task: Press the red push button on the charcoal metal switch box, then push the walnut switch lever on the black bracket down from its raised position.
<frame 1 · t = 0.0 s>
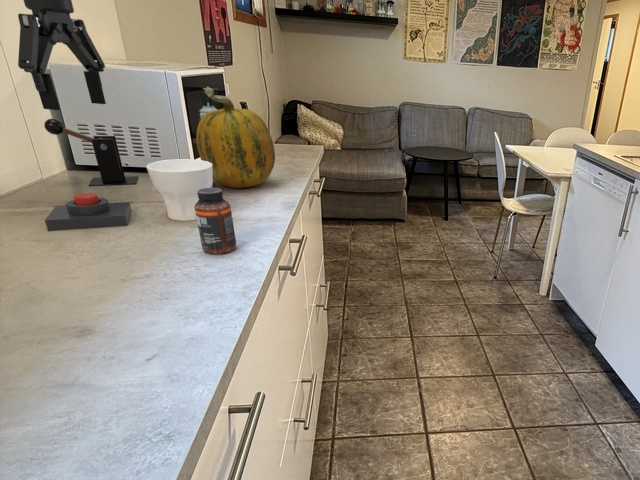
hand: (76, 106, 100), 20 cm above the counter, tool pointing down, fingers open, 13 cm apart
cup: (189, 216, 105), on the counter
switch box: (92, 220, 98), on the counter
lever bracket: (115, 185, 122), on the counter
spray can: (219, 174, 139), on the counter
supplement bottle: (220, 250, 89), on the counter
push button: (86, 199, 96), point 4 cm above the counter, slide at 0.1 cm
pumpkin: (242, 185, 130), on the counter
switch lever: (79, 135, 114), point 12 cm above the counter, hinge at 25.0°
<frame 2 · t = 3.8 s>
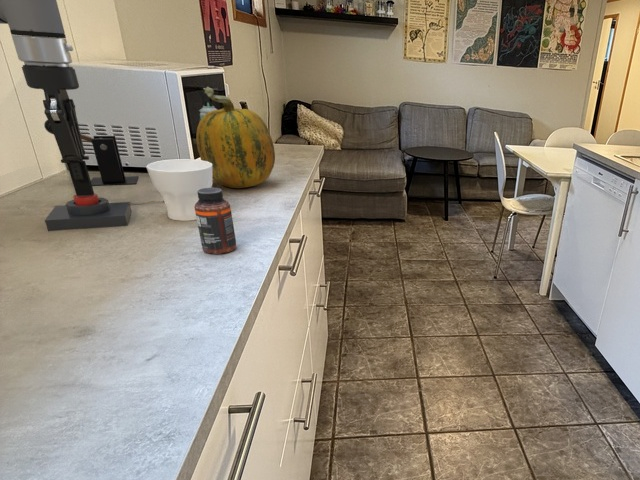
hand: (85, 194, 95), 6 cm above the counter, tool pointing down, fingers closed
push button: (86, 199, 96), point 4 cm above the counter, slide at 0.1 cm, touching gripper
everything else where it was.
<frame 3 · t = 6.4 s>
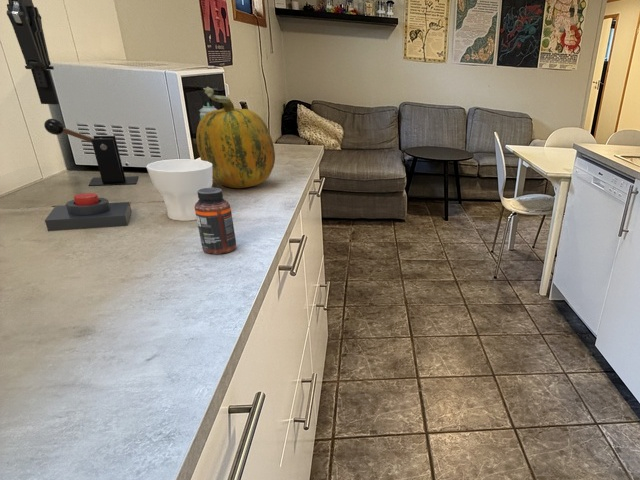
hand: (50, 103, 100), 21 cm above the counter, tool pointing down, fingers closed
push button: (86, 199, 96), point 4 cm above the counter, slide at 0.1 cm
everything else where it was.
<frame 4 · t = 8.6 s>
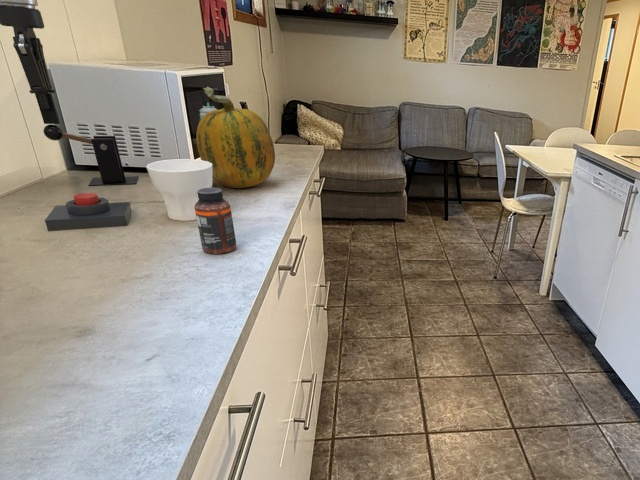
hand: (52, 123, 111), 15 cm above the counter, tool pointing down, fingers closed
switch lever: (78, 138, 114), point 12 cm above the counter, hinge at 16.9°
everything else where it was.
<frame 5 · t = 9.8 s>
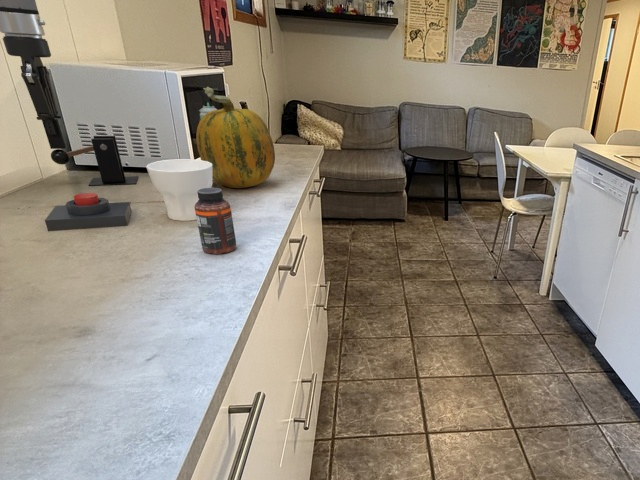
hand: (58, 148, 113), 9 cm above the counter, tool pointing down, fingers closed
switch lever: (82, 151, 115), point 9 cm above the counter, hinge at -15.8°
everything else where it was.
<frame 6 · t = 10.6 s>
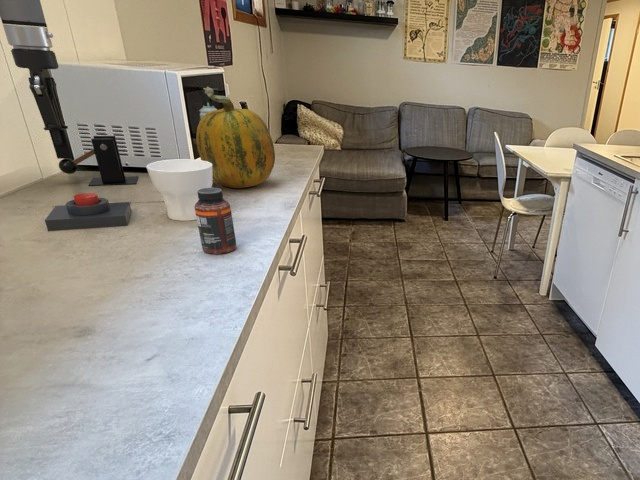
hand: (65, 157, 115), 7 cm above the counter, tool pointing down, fingers closed
switch lever: (86, 156, 116), point 7 cm above the counter, hinge at -30.0°, touching gripper
everything else where it was.
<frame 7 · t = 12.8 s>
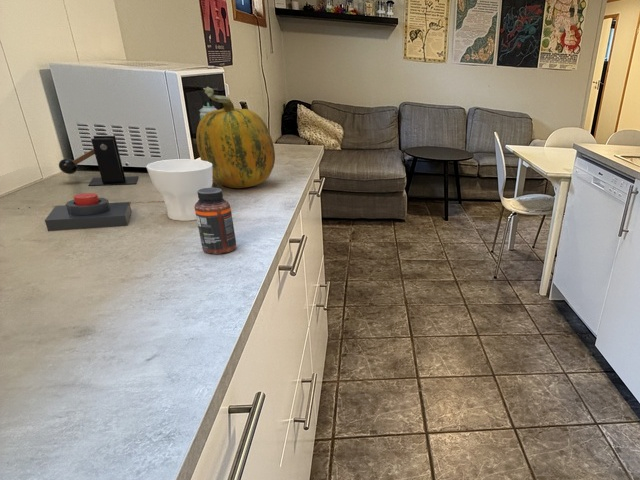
switch lever: (86, 156, 116), point 7 cm above the counter, hinge at -30.1°
everything else where it was.
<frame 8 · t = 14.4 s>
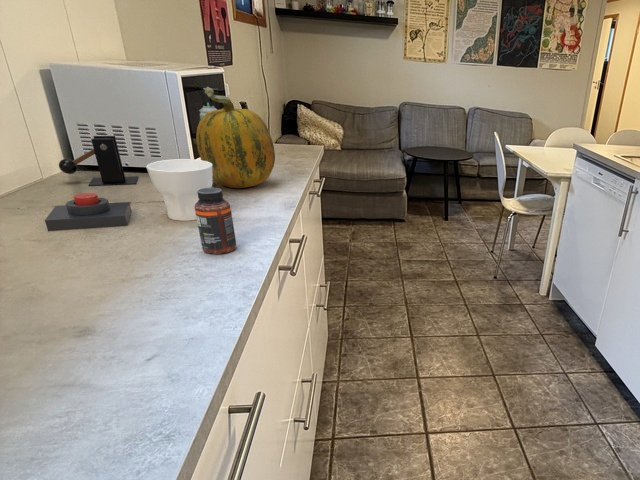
nothing on the counter moved.
at the end: push button pushed in 1.0 cm at the most during the clip, back to where it started at the end; push button slide at 0.1 cm; switch lever at -30° (first picture: +25°) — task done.
